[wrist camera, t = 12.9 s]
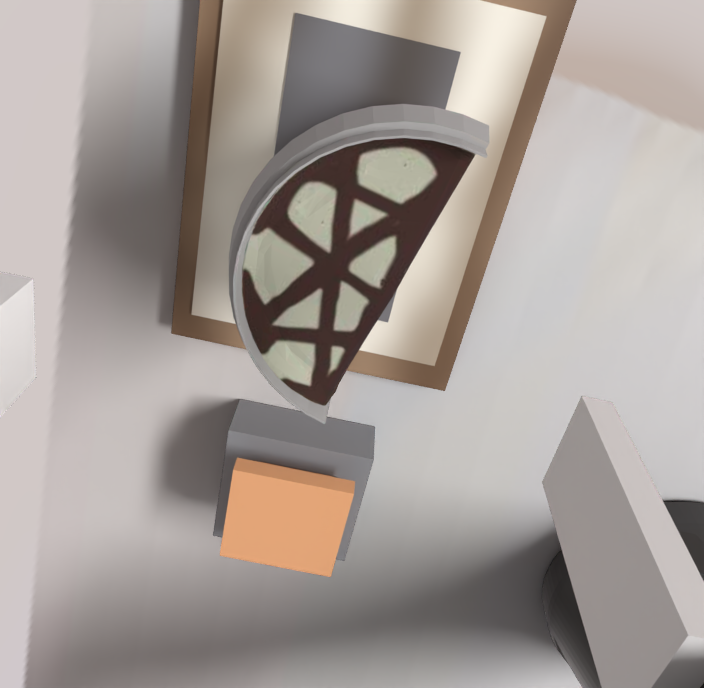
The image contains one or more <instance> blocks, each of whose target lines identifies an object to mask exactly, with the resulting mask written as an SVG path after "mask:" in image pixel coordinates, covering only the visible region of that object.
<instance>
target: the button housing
mask: <svg viewBox="0 0 704 688" xmlns="http://www.w3.org/2000/svg"><path fill="white" fill-rule="evenodd" d="M374 439H375V427H373V426H368V425H364V424H359V423H354V422H349V421H344V420H339V419H335V418H330V417H327V418H326V423H325V424H323V423H321V422H319V421H318V420H316V419H314V418H312V417H310V416H308V415H306V414H305V413H303V412H301V411H296V410H291V409H286V408H281V407H276V406H271V405H267V404H262V403H257V402H252V401H247V400H242V399H240V400H239V403H238V406H237V408H236V411H235V414H234V417H233V419H232V422H231V425H230V428H229V431H228V437H227V444H226V451H225V458H224V465H223V471H222V478H221V485H220V492H219V498H218V505H217V512H216V519H215V526H214V532H213V536H218V537H223V531H224V525H225V518H226V512H227V506H228V499H229V493H230V487H231V480H232V474H233V469H234V466H235V463H236V460H237V458H242V459H247V460H252V461H257V462H259V461H260V462H265V463H270V464H275V465H280V466H285V467H290V468H295V469H300V470H305V471H310V472H315V473H320V474H325V475H330V476H332V477H336V478H341V479H346V480H351V481H355V489H354V496H353V500H352V503H351V507H350V510H349V514H348V517H347V521H346V524H345V528H344V532H343V535H342V539H341V542H340V546H339V549H338V553H337V556H336V559H337V560H342V561H344V560H345V556H346V553H347V549H348V546H349V542H350V539H351V536H352V532H353V529H354V525H355V522H356V518H357V515H358V511H359V508H360V505H361V501H362V498H363V494H364V491H365V487H366V484H367V481H368V477H369V474H370V470H371V467H372V463H373V460H374Z"/></svg>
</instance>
